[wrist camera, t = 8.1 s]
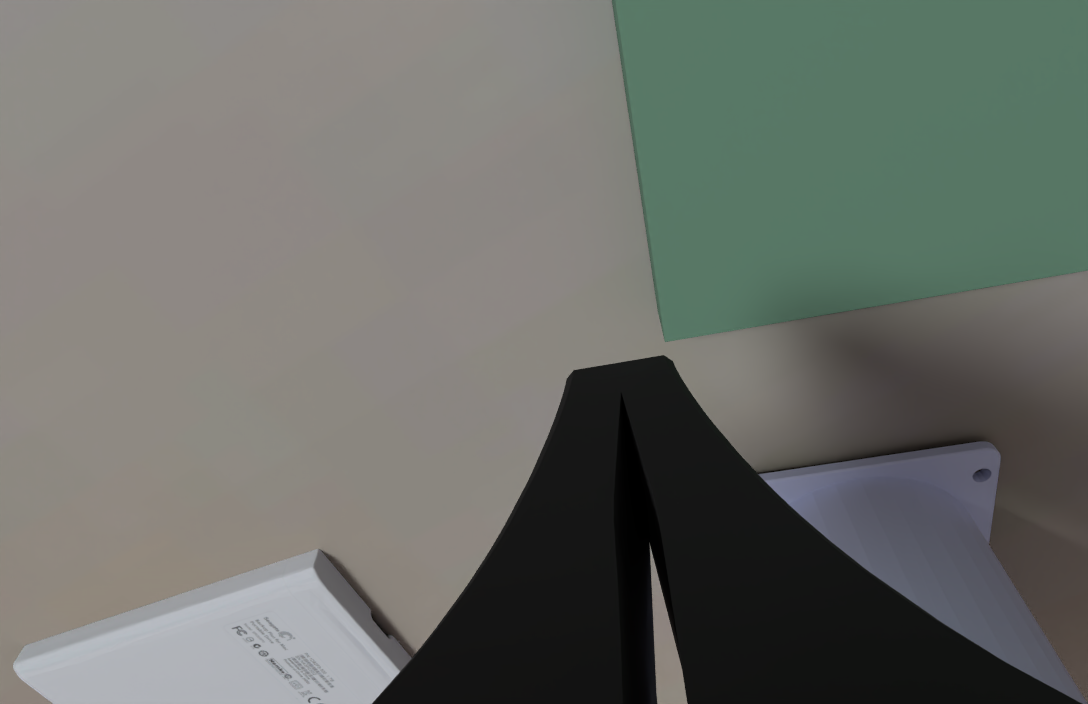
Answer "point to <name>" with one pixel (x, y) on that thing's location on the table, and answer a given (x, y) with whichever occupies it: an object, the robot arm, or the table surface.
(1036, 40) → the putting deck
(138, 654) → the external hard drive
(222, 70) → the table surface
